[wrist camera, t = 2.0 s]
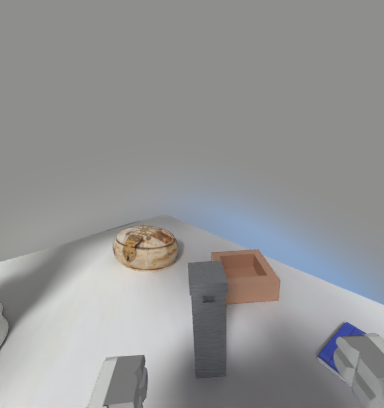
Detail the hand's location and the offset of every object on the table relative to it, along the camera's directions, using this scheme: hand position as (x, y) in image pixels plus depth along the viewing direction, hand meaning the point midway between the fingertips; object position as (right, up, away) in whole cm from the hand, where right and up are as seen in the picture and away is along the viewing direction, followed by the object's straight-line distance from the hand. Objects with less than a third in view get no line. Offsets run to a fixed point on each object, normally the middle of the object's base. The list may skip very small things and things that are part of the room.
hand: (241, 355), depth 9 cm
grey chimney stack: (0, -13, +17) cm, 22 cm away
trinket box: (-13, -7, +41) cm, 43 cm away
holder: (+7, -9, +31) cm, 33 cm away
